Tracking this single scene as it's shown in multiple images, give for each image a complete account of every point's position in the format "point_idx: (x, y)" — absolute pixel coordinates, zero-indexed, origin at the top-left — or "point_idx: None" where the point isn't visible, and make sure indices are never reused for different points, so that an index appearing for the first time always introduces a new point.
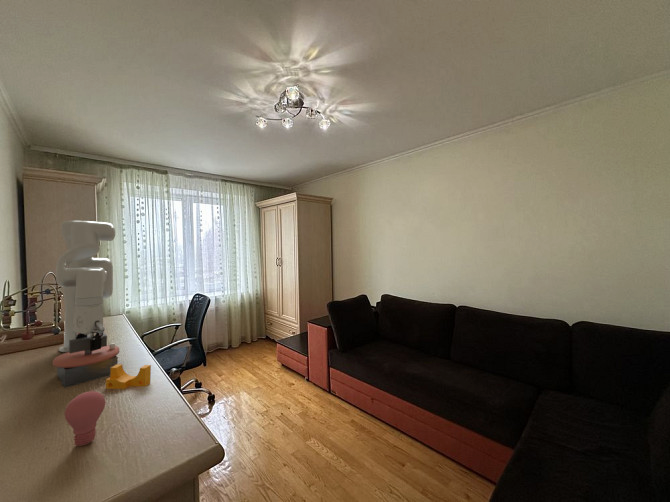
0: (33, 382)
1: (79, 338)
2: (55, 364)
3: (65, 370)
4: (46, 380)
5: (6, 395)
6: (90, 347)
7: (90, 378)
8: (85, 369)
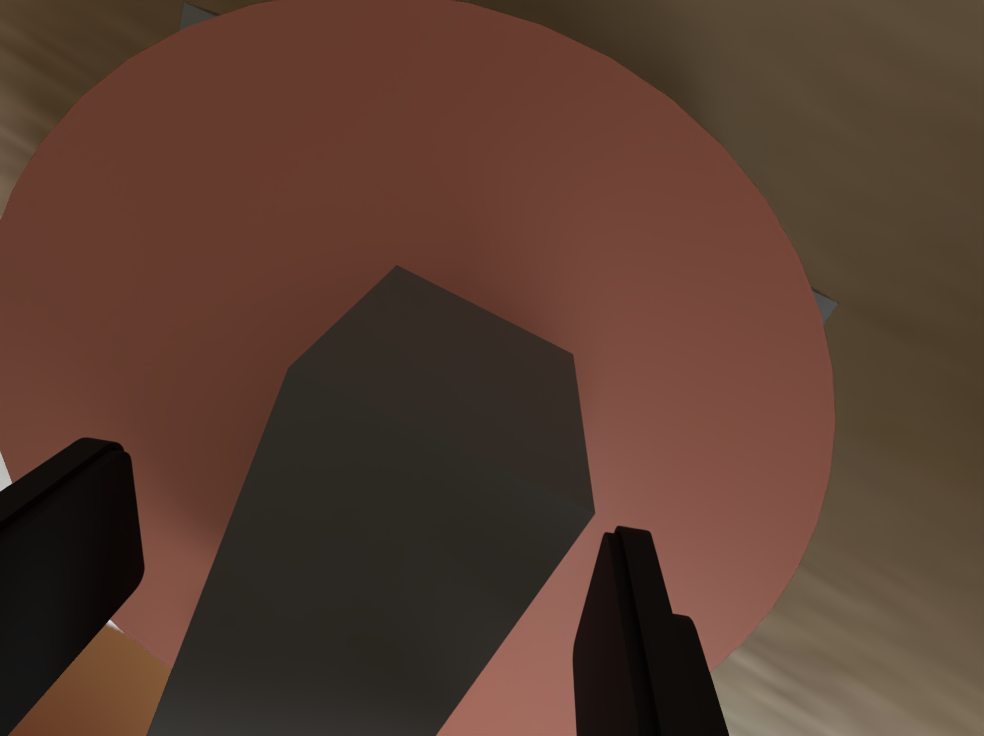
0: (847, 39)
1: (616, 730)
2: (439, 3)
3: (190, 10)
4: (739, 126)
5: None
6: (41, 477)
7: None
8: None
